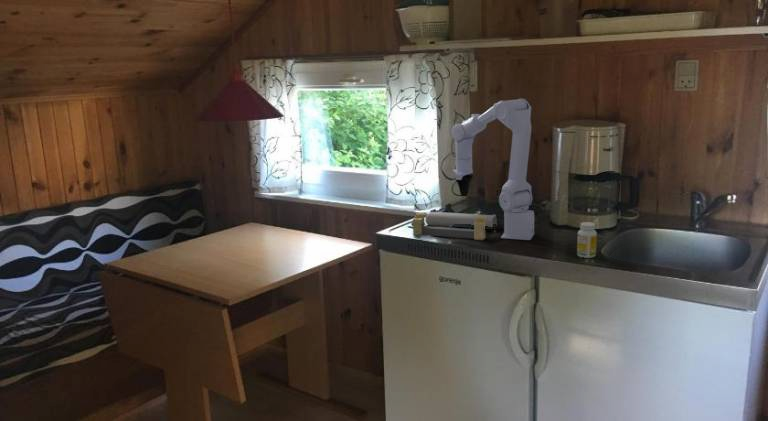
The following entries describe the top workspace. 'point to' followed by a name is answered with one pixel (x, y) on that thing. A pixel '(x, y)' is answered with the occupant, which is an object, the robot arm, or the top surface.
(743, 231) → the top surface
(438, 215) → the tube
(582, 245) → the supplement bottle
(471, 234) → the dark gray bar
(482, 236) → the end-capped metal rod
